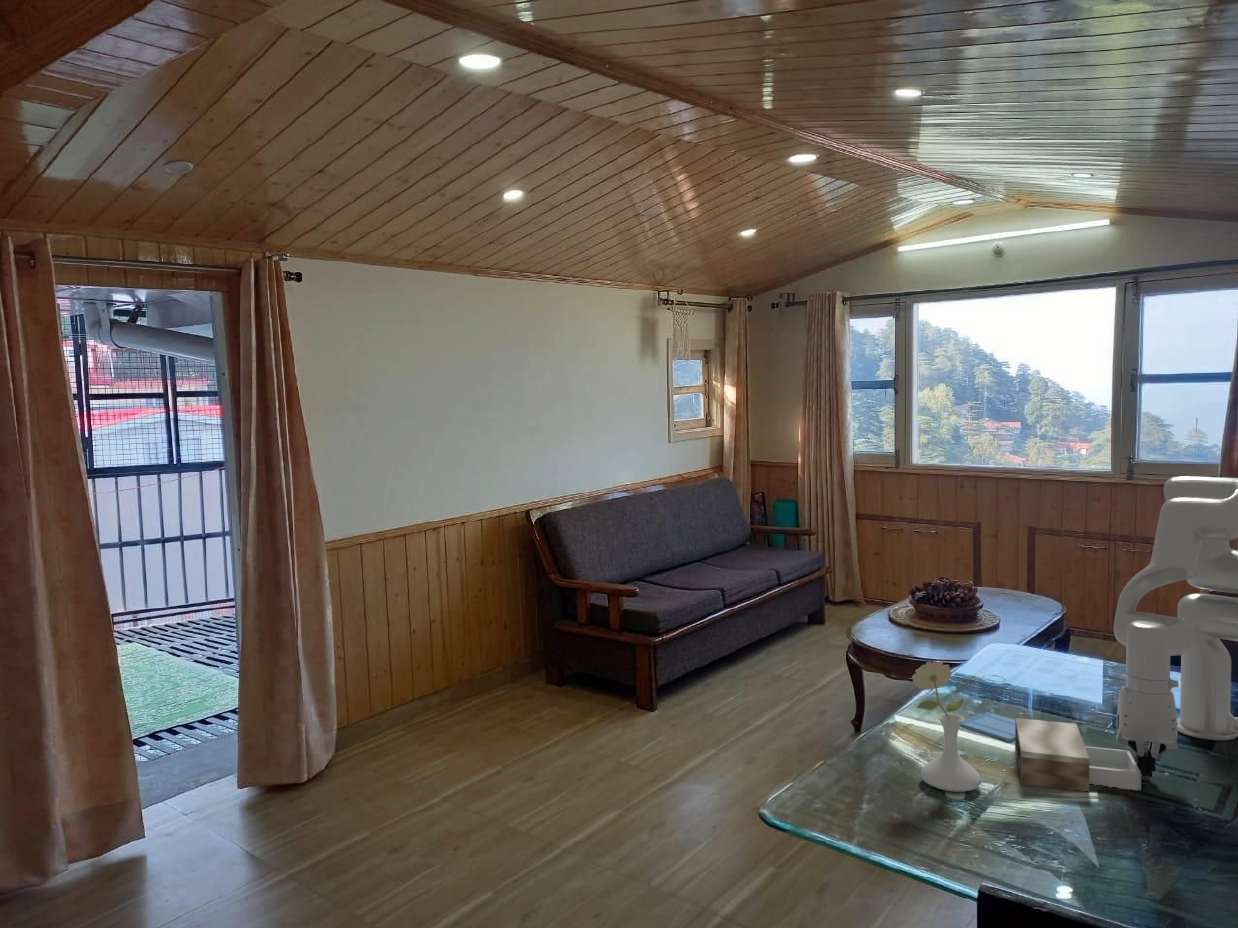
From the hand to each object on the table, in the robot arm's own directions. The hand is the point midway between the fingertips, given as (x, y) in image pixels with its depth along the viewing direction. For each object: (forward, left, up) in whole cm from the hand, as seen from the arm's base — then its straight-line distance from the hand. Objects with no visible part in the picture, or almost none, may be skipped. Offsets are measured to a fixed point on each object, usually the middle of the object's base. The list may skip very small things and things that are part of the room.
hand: (1145, 773), depth 176 cm
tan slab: (+17, 0, -1) cm, 17 cm away
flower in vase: (+37, +15, -1) cm, 40 cm away
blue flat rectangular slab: (+27, -22, -2) cm, 35 cm away
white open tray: (+9, 0, -1) cm, 9 cm away
